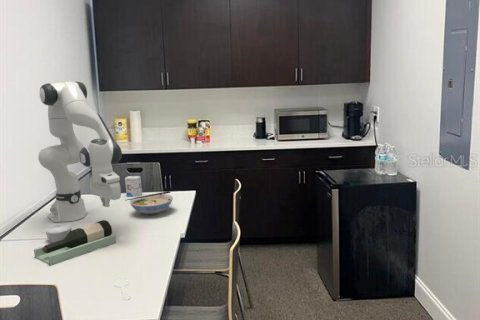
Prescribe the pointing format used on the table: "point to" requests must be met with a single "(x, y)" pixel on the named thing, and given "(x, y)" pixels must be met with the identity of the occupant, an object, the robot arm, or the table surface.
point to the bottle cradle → (72, 250)
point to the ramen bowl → (151, 203)
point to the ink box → (133, 186)
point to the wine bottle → (81, 236)
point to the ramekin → (58, 232)
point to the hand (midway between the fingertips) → (106, 206)
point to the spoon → (122, 287)
